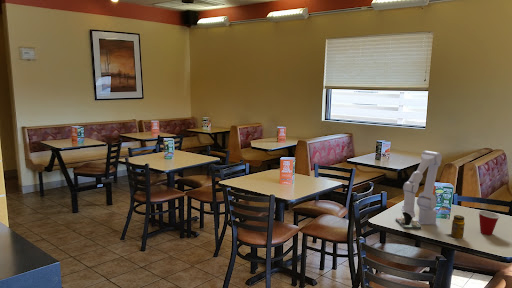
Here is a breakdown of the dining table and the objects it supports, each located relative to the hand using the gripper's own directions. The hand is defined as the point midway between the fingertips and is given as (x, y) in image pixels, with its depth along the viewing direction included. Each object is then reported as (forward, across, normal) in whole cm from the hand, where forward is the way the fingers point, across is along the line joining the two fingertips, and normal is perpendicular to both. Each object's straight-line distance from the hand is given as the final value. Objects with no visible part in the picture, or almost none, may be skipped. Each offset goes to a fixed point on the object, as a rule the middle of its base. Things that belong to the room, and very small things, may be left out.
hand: (407, 224), depth 230 cm
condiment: (+3, +11, +23) cm, 26 cm away
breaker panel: (+2, -6, +3) cm, 7 cm away
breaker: (0, -2, +5) cm, 6 cm away
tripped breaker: (+1, -6, 0) cm, 6 cm away
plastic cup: (+3, +5, +44) cm, 44 cm away
